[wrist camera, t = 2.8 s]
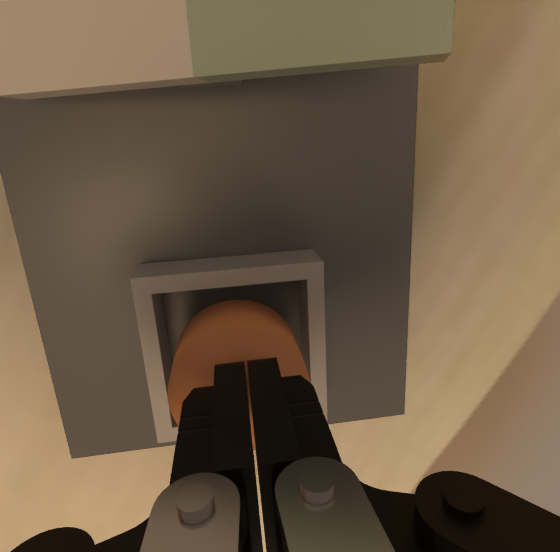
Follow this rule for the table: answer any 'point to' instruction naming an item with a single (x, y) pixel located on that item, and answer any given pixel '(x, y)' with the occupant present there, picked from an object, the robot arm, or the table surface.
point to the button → (230, 347)
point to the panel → (214, 235)
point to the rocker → (207, 41)
